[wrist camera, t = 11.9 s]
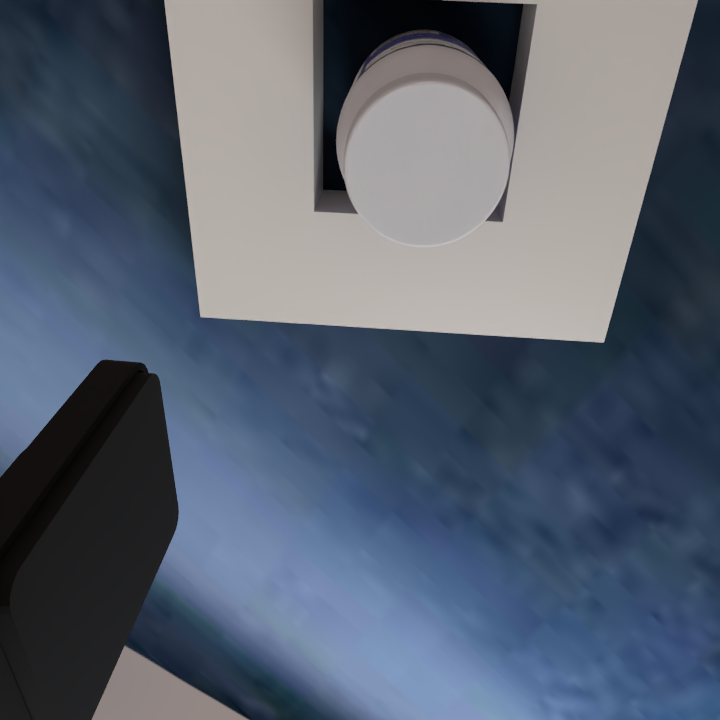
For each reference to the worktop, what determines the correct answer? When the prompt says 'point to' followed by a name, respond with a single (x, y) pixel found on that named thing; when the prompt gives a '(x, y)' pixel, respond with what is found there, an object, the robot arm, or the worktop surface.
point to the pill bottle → (425, 140)
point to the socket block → (400, 262)
